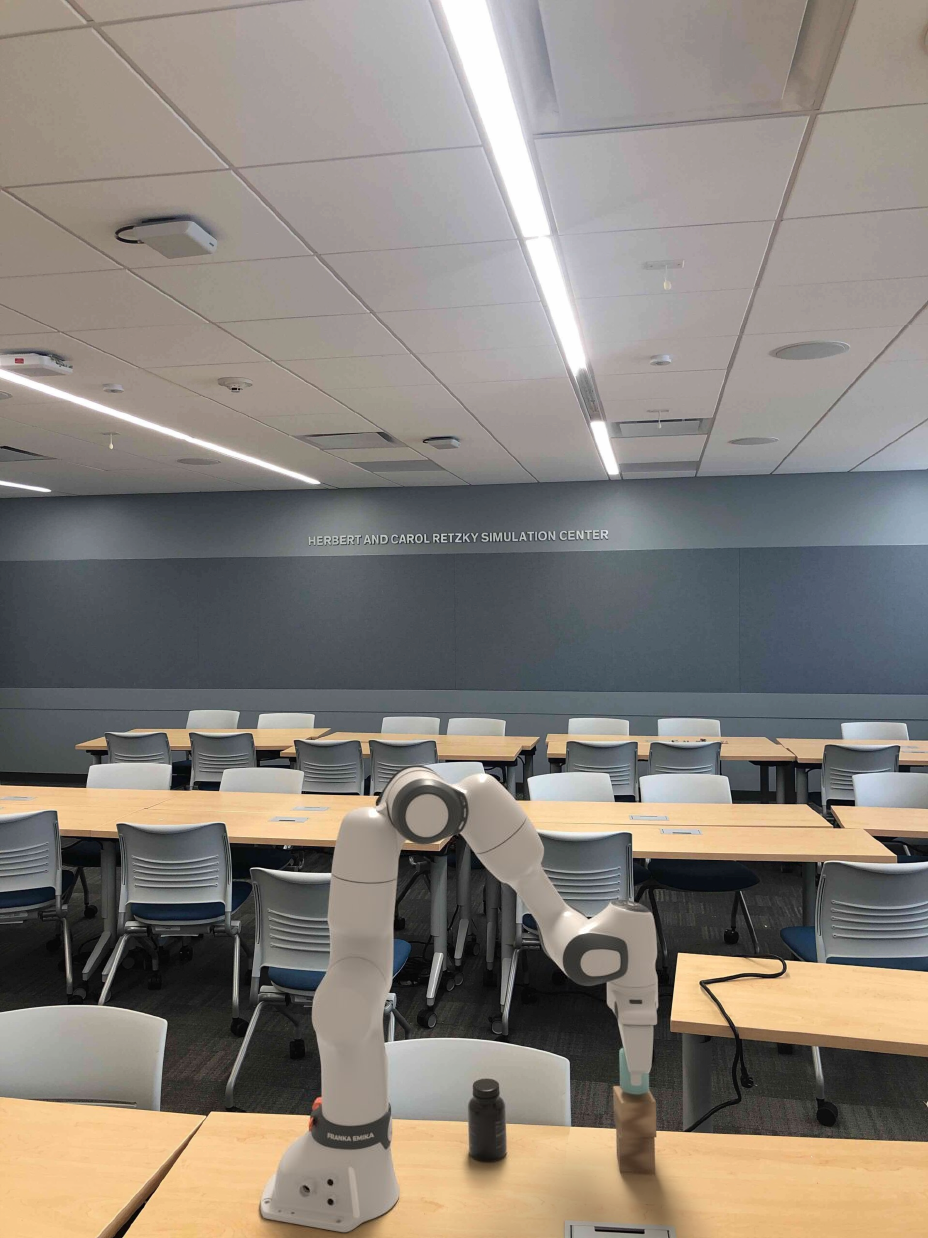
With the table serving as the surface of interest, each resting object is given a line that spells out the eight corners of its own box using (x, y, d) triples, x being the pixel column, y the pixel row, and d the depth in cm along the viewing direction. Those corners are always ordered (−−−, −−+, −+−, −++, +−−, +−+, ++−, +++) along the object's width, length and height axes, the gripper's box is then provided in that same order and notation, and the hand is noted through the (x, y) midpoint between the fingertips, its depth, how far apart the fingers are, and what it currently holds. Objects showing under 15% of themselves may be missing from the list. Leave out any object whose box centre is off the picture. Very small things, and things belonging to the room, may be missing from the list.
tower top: (622, 1139, 152) (621, 1103, 152) (613, 1120, 158) (613, 1086, 158) (656, 1137, 153) (655, 1102, 153) (647, 1119, 159) (646, 1085, 159)
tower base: (619, 1173, 152) (619, 1138, 153) (616, 1153, 158) (616, 1119, 159) (655, 1175, 152) (654, 1139, 152) (650, 1155, 158) (650, 1120, 158)
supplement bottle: (498, 1139, 164) (497, 1073, 164) (512, 1159, 157) (511, 1090, 158) (463, 1146, 161) (462, 1079, 162) (475, 1167, 155) (474, 1096, 155)
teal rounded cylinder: (621, 1094, 153) (620, 1059, 154) (618, 1080, 158) (618, 1046, 159) (650, 1095, 153) (650, 1059, 153) (647, 1081, 158) (646, 1046, 158)
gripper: (609, 973, 167) (610, 1048, 166) (619, 1018, 146) (621, 1104, 146) (643, 974, 166) (644, 1049, 166) (658, 1019, 146) (660, 1105, 145)
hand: (633, 1075), depth 156 cm, fingers closed on teal rounded cylinder, 5 cm apart
